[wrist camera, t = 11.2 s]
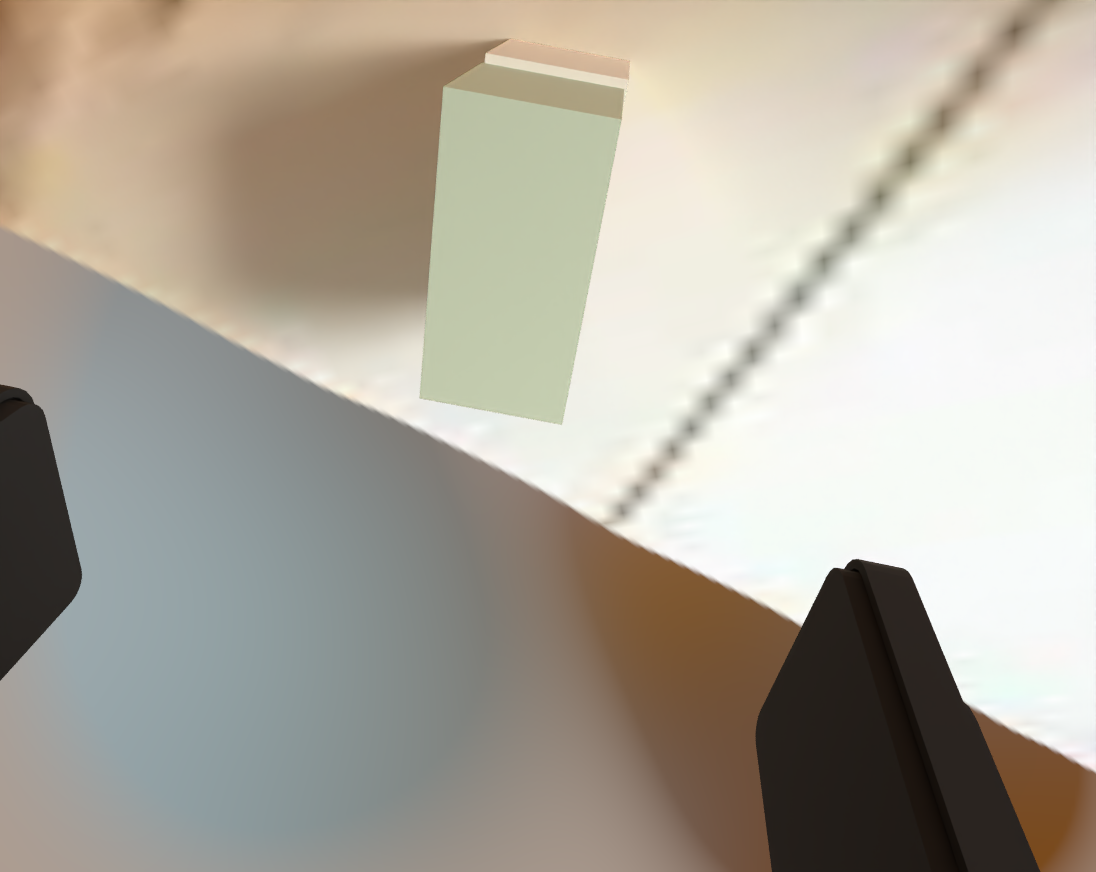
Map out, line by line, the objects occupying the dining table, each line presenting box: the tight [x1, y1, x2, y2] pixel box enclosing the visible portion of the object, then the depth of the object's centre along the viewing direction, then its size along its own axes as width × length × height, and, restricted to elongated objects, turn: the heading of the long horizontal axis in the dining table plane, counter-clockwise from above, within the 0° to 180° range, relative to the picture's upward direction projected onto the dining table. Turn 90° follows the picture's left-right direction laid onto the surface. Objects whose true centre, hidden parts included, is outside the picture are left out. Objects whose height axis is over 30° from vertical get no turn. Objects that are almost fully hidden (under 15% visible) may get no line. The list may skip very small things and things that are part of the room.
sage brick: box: [420, 63, 624, 425], centre depth 21 cm, size 8×4×5 cm, turn 171°
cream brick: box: [485, 39, 630, 112], centre depth 25 cm, size 8×4×5 cm, turn 171°
